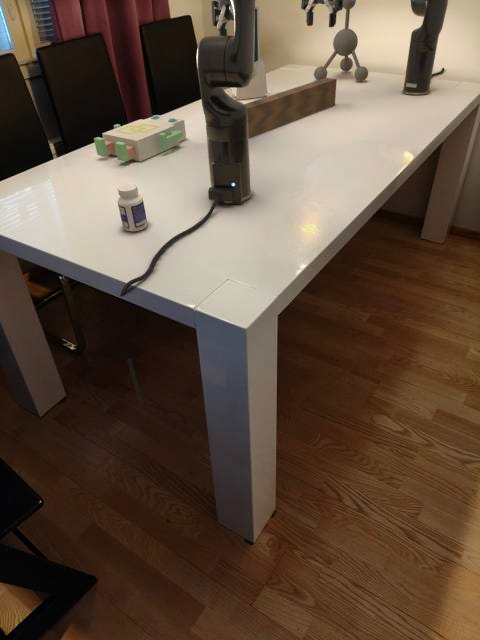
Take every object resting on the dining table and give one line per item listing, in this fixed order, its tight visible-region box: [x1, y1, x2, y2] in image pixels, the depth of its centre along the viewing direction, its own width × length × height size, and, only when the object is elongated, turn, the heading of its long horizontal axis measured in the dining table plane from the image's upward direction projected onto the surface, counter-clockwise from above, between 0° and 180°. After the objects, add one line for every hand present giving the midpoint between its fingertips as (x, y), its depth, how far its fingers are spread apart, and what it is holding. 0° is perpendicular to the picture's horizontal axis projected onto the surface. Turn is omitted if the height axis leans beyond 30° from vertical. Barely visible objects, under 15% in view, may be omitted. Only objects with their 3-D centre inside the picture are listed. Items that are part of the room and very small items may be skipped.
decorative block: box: [93, 114, 187, 162], centre depth 144 cm, size 26×6×20 cm
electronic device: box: [231, 5, 268, 101], centre depth 180 cm, size 12×8×30 cm, turn 105°
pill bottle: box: [117, 182, 148, 232], centre depth 102 cm, size 5×5×9 cm
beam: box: [243, 77, 338, 139], centre depth 157 cm, size 54×4×9 cm, turn 136°
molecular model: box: [313, 0, 369, 82], centre depth 196 cm, size 24×22×30 cm
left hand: (234, 45), depth 134 cm, fingers open, 8 cm apart
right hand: (320, 26), depth 155 cm, fingers open, 8 cm apart
